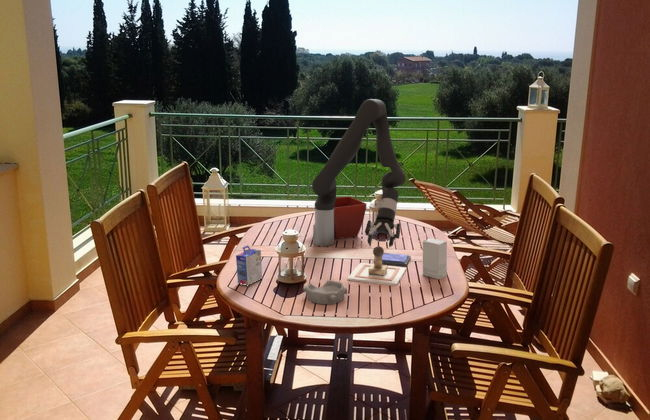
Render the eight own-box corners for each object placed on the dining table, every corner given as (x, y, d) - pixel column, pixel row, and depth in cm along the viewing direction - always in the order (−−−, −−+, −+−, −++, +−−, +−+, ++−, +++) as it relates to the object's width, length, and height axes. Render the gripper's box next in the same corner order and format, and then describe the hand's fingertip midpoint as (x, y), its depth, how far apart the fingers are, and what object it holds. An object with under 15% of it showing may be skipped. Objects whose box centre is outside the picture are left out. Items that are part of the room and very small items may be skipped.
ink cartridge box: (251, 277, 255) (250, 242, 251) (262, 279, 252) (262, 244, 249) (236, 284, 247) (235, 249, 243) (247, 287, 244) (246, 251, 240)
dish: (299, 298, 233) (298, 285, 232) (325, 289, 242) (325, 276, 241) (326, 309, 223) (326, 296, 222) (353, 299, 232) (353, 286, 231)
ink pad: (373, 263, 272) (373, 259, 271) (379, 255, 282) (379, 251, 281) (405, 266, 267) (406, 262, 267) (410, 258, 277) (410, 254, 277)
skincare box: (446, 276, 256) (448, 241, 252) (437, 280, 252) (439, 244, 248) (430, 271, 261) (431, 237, 258) (421, 274, 257) (422, 239, 254)
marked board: (347, 280, 251) (347, 277, 251) (360, 264, 270) (360, 262, 270) (396, 285, 245) (396, 283, 245) (406, 269, 264) (406, 266, 264)
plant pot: (315, 232, 318) (315, 199, 314) (349, 227, 326) (349, 196, 322) (331, 242, 302) (331, 207, 298) (367, 237, 309) (367, 204, 305)
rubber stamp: (368, 274, 255) (368, 248, 253) (372, 269, 261) (372, 243, 259) (383, 276, 253) (384, 249, 251) (387, 271, 259) (388, 245, 257)
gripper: (369, 205, 265) (361, 238, 257) (402, 208, 261) (395, 242, 253) (371, 214, 271) (364, 247, 264) (404, 217, 267) (397, 251, 259)
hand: (379, 245), depth 258 cm, fingers open, 8 cm apart
